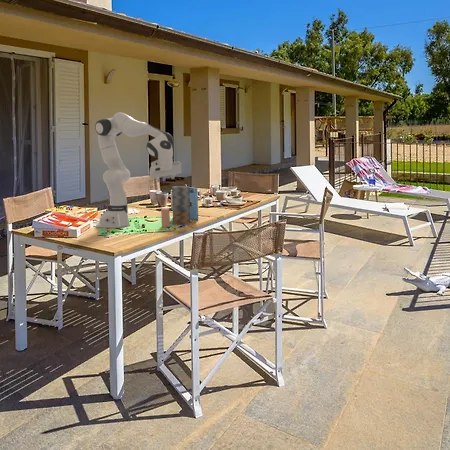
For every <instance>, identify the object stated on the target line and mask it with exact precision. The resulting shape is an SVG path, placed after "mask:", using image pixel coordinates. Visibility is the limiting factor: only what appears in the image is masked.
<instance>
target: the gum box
mask: <svg viewBox="0 0 450 450" xmlns="http://www.w3.org/2000/svg"><path fill="white" fill-rule="evenodd" d="M174 187H180V186H177V185H176V186H174ZM189 187H190V186H189ZM198 196H199V195H198V187H193V186H191V187H190V220H198V219H199V197H198Z"/></svg>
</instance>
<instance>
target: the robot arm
mask: <svg viewBox="0 0 450 450" xmlns="http://www.w3.org/2000/svg"><path fill="white" fill-rule="evenodd" d="M94 128H95V131H96V134H97V142H98V146H99V147H98V148H99V152H100V154H101V157H102V161H103V162H104V164H106V166H107V167H108V169H107V170H105V171H104V173H103V174H102V180H103V182H104V184H106V187H107V190H108V194H109V204H108V205H107V206H106V209H107V210H106V211H105V212H104V213H103V214H102V215H101V216H100V217H99V222H98V223H97V224H96V225H95V226H96V228H105V229H106V228H108V229H109V228H112V229H113V228H114V229H116V228H117V229H118V228H124V227H128V226H130V225H131V223H130V220H129V216H128V215H129V214H128V212H129V207H128V206H129V205H128V201H127V200H128V199H127V192H126V191H125V189H124V185H123V184H124V183H126V182H128V181H129V180H130V178H131V171H130V170H129V169H128V168H127V167H126V165H125V164H124V161H123V160H122V158H121V156H120V153H119V150H118V145H117V143H116V140H115V139H116V136H117V137H119V136H120V135H121V134H123V135H125V136H127V137H130V138H135V137H139V136H144V135H149V136H152V137H153V139H151V140H149V141H148V142H146V152H147V154H149V155H150V156H151V157H153V158H156V160H154V161H151V163H150V165H151V166H150V168H149V177H150V178H151V179H156V182H158V183H160V182H161V180H160V178H163V177H168V176H170V178H171V180H175V177H176V176H177V175H180V174H182V164H183V163H182V162H181V161H173V160H174V159H173V156H174V151H173V149H174V148H173V146H174V143H175V142H174V141H175V139H174V137H173V136H172V134H171V133H169V132H166V131H163V130H161V129H160V128H157V127H156V126H154V125H152V124H149V123H148V122H143V121H139V120H136V119H134V118H133V117H132V116H129V115H128V114H126V113H125V112H121V111H118V112H116V113H115V114H114V115H113V116H112V117H107V118H102V119H99V120H97V121H96V122H95V125H94Z"/></svg>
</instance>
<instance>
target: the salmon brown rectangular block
mask: <svg viewBox="0 0 450 450" xmlns="http://www.w3.org/2000/svg"><path fill="white" fill-rule="evenodd" d="M160 211H161V215H160V216H161V227H162V228H170V227H171V225H170V224H171V223H170V222H171V221H170V220H171V219H170V208H169V207H167V208H166V207H162V208H161V210H160ZM169 226H170V227H169Z"/></svg>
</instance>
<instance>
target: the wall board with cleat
mask: <svg viewBox="0 0 450 450" xmlns="http://www.w3.org/2000/svg"><path fill="white" fill-rule="evenodd" d="M171 195H172V196H171V197H172V199H171V200H172V204H171V205H172V223H173V222H174V223H173V225H174V224H177V226H180V225H181V226H183V225H186V226H188V225H189V224H190V223H191V219H190V186H179V187H175V186H171Z"/></svg>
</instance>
